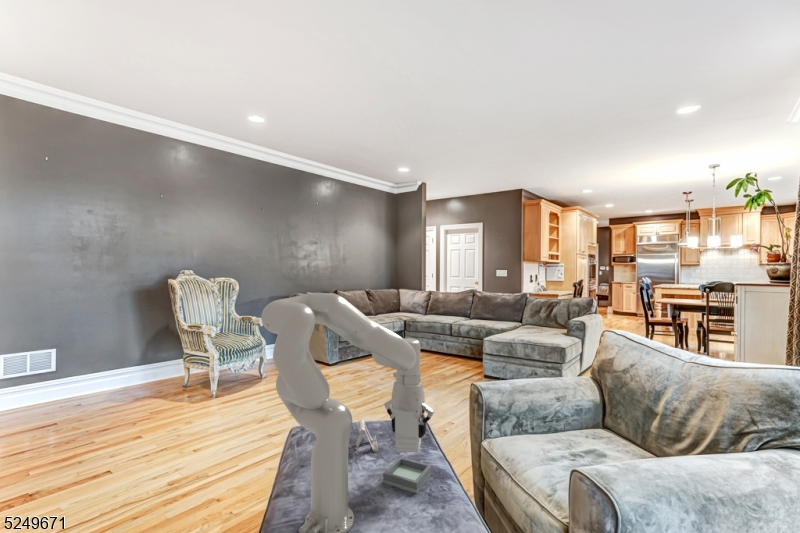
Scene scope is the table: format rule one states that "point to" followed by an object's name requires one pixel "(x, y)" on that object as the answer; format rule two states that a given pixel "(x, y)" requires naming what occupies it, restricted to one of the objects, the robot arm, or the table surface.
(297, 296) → the robot arm
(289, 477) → the table surface
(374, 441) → the portable electronic device stand
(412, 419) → the supplement box
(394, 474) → the tray
